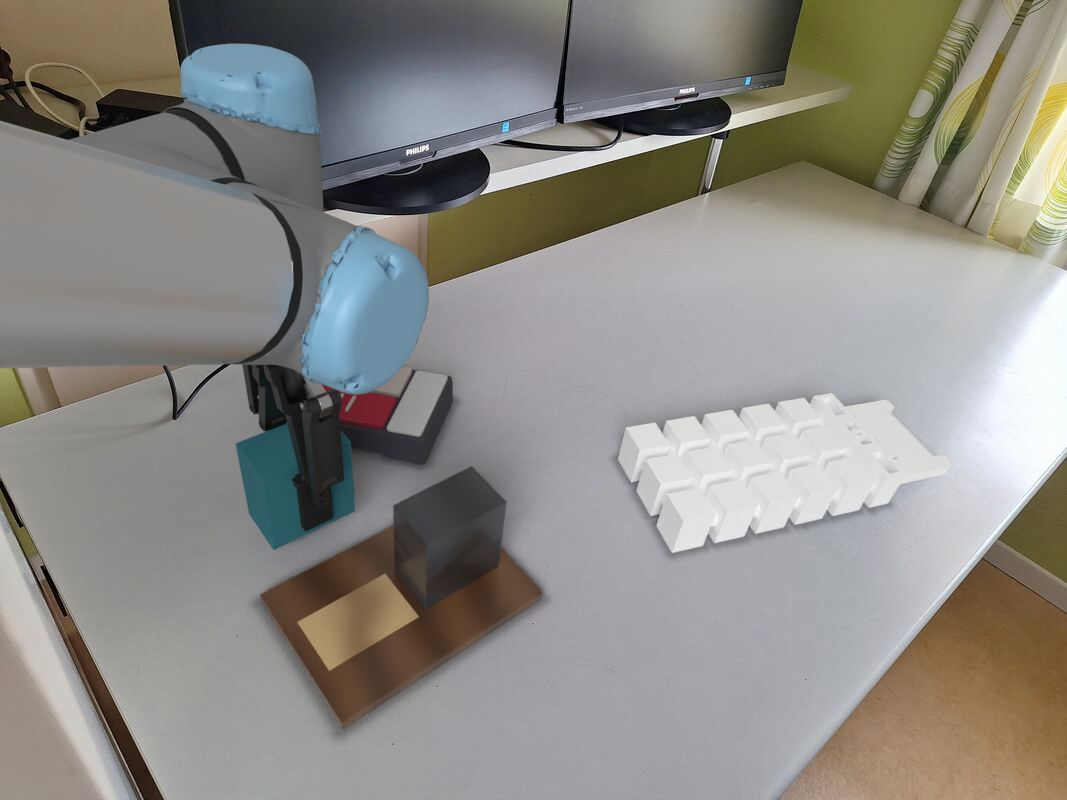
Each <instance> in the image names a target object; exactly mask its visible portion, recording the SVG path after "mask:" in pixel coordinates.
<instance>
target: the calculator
mask: <svg viewBox="0 0 1067 800" xmlns="http://www.w3.org/2000/svg"><path fill="white" fill-rule="evenodd" d="M321 385H322V386H323V388H324V389H325V391H326V392H328V391H331V390H334V389H333V388H331V387H328V386H325V385H323V384H321ZM453 388H454V386H453V377H452V376H451V375H446V374H440V373H435V372H429V371H424V370H418V369H412V367H408V366H407V367H406V366H403V367H402V368H401V369H400V371H399V372H398V373H397V374H396V375H395V376H394V377H393V378H392V379H391V380H389V381H388V382H387V383H386V384H384V385H383V386H381V387H379V388H378V389H376V390H374V391H372V392H369V393H365V394H358V395H356V394H347V393H344V392H341V391H339V393H340V395H341V399H342V405H341V409H340V414H339V418H340V430H341V431H342V432H343V434H344V435H345V436H346V437H347V438H348V439H349V440H350V442H351V448H355V449H360V450H364V451H370V452H375V453H380V454H383V455H385V456H386V457H388V458H390V459H392V460H397V461H402V462H407V463H413V464H418V465H424V464H425V463H426V462H427V461H428V459H429V456H430V454H431V453H432V449H433V448H434V445H435V443H436V440H437V439H438V436H439V434H440V431H441V430H442V428H443V424H444V422H445V420H446V418H447V416H448V413H449V410H450V409H451V406H452V404H453V401H454V389H453ZM337 391H338V390H337Z"/></svg>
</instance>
